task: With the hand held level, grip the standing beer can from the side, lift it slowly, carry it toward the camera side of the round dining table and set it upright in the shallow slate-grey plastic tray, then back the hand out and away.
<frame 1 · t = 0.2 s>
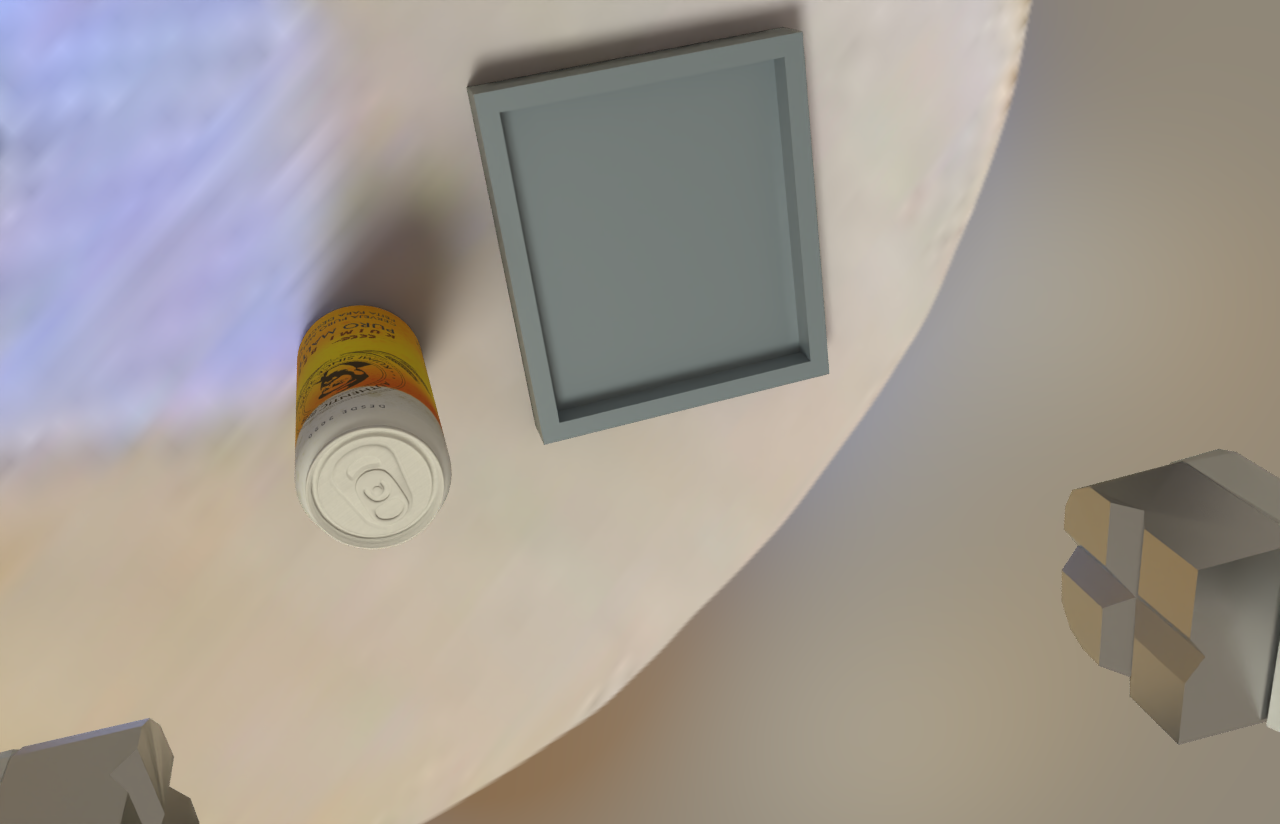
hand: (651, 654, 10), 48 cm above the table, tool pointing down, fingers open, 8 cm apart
tray: (654, 234, 59), on the table
beer can: (359, 356, 58), on the table
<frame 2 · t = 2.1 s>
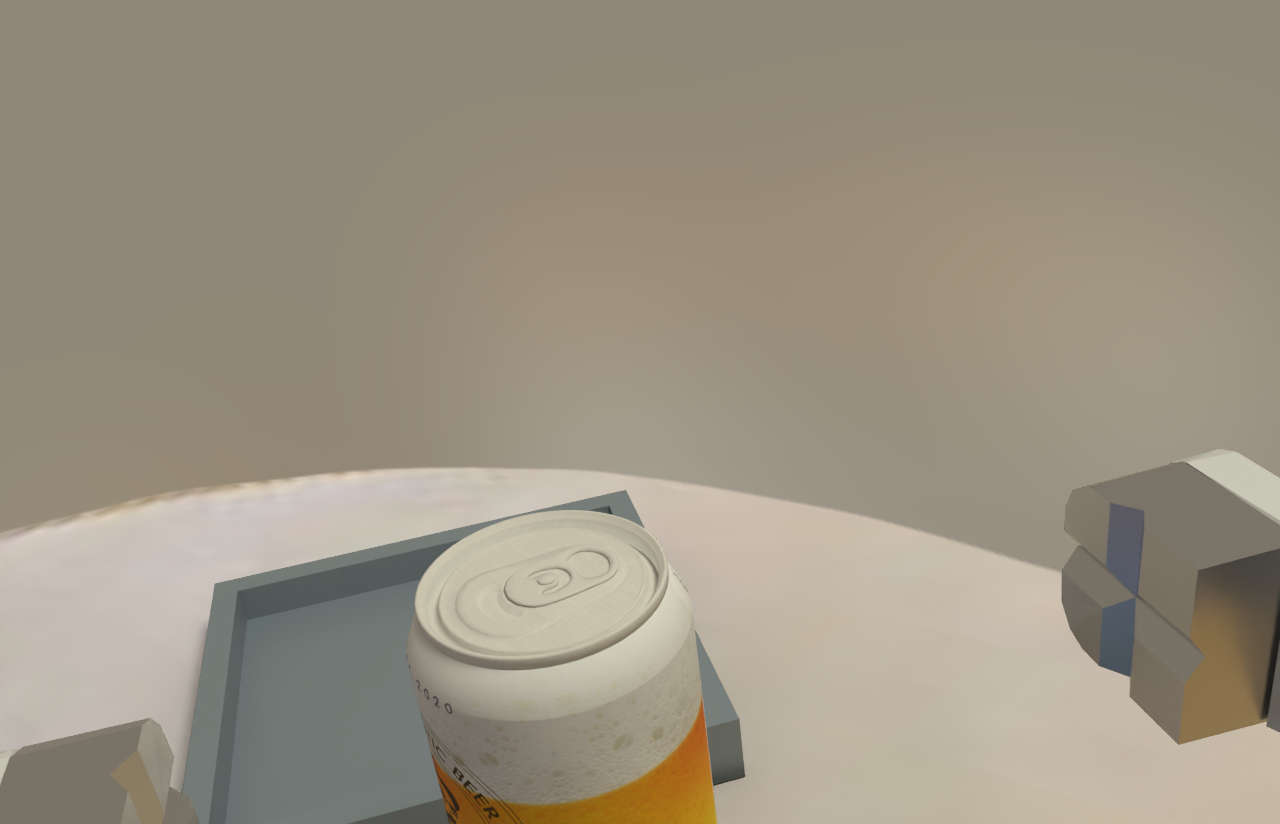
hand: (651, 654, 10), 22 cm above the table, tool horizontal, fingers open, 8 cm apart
tray: (455, 694, 44), on the table
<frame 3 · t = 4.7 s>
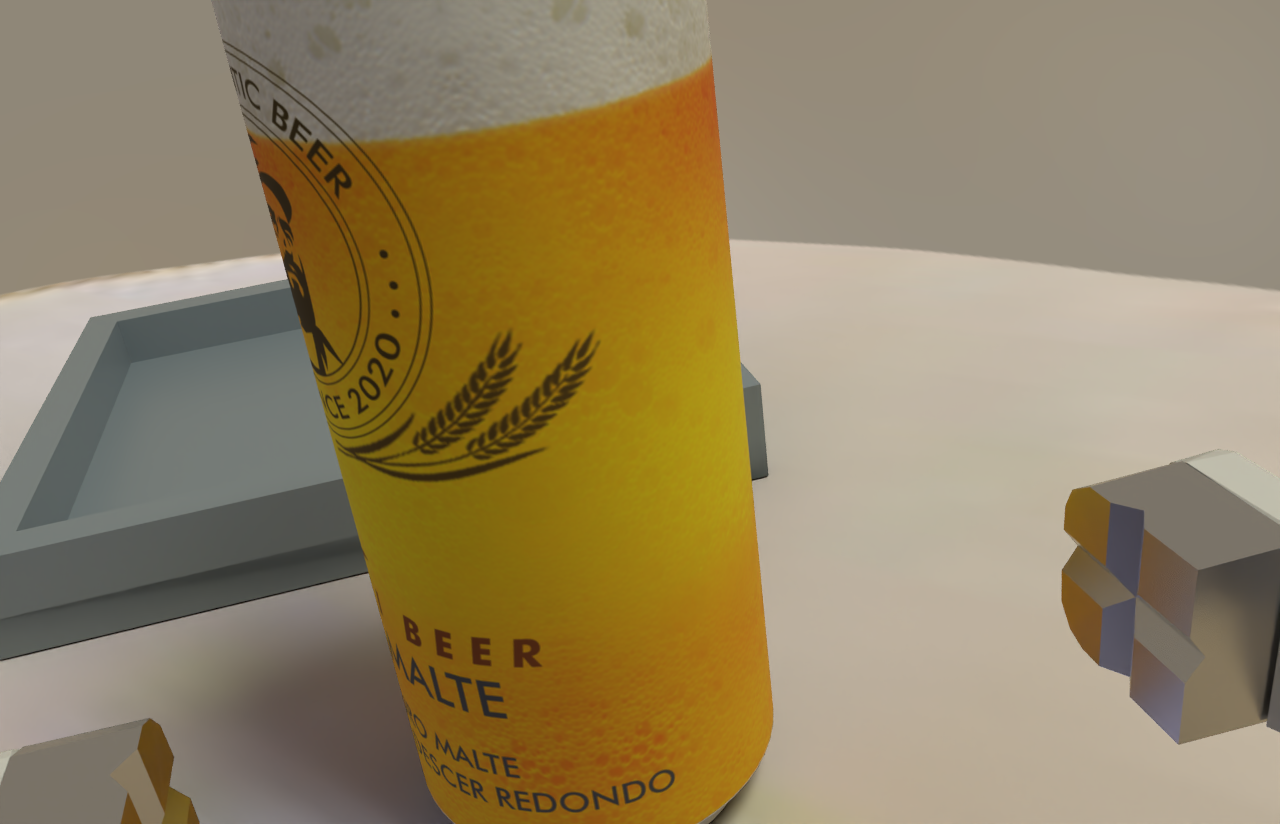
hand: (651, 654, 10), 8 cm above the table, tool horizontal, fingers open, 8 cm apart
tray: (387, 422, 34), on the table
beer can: (605, 765, 20), on the table
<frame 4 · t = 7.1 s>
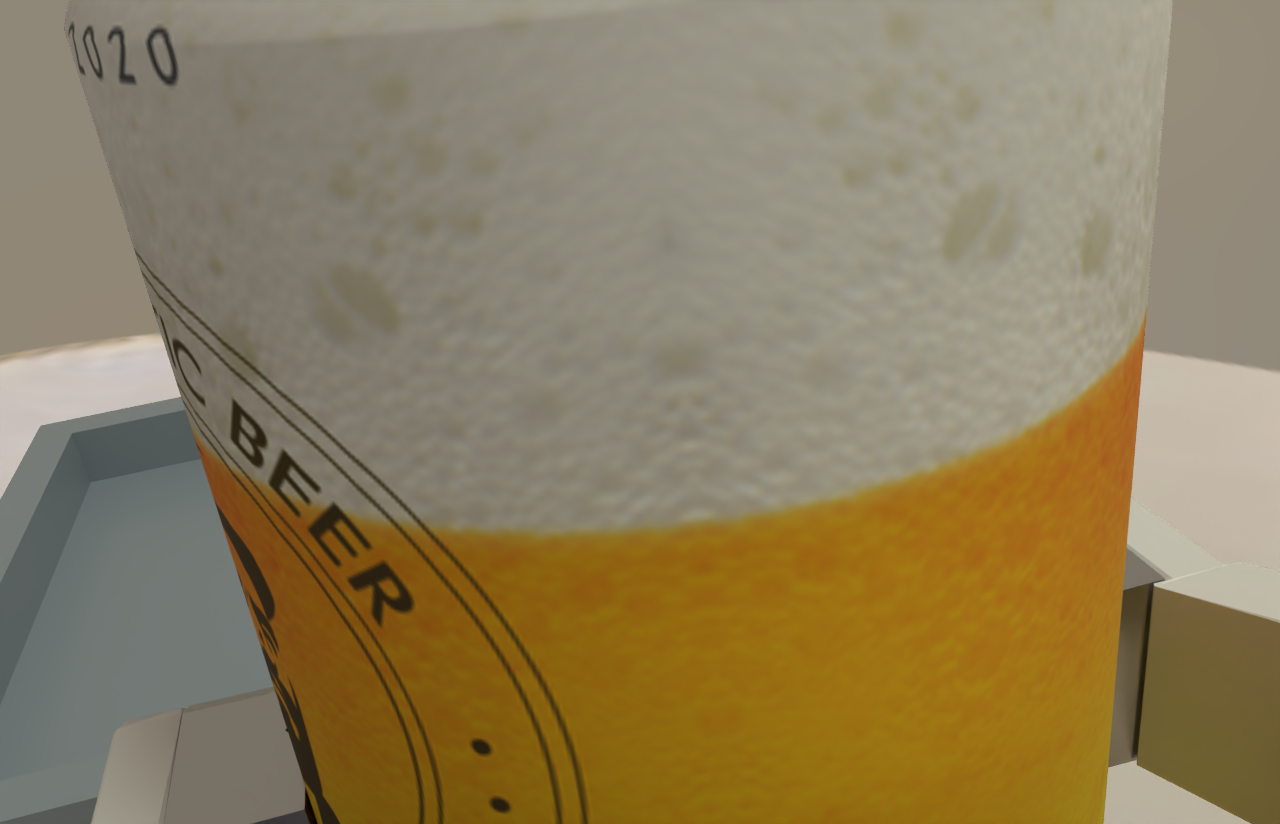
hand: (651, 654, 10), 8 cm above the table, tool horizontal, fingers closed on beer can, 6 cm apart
tray: (410, 580, 26), on the table
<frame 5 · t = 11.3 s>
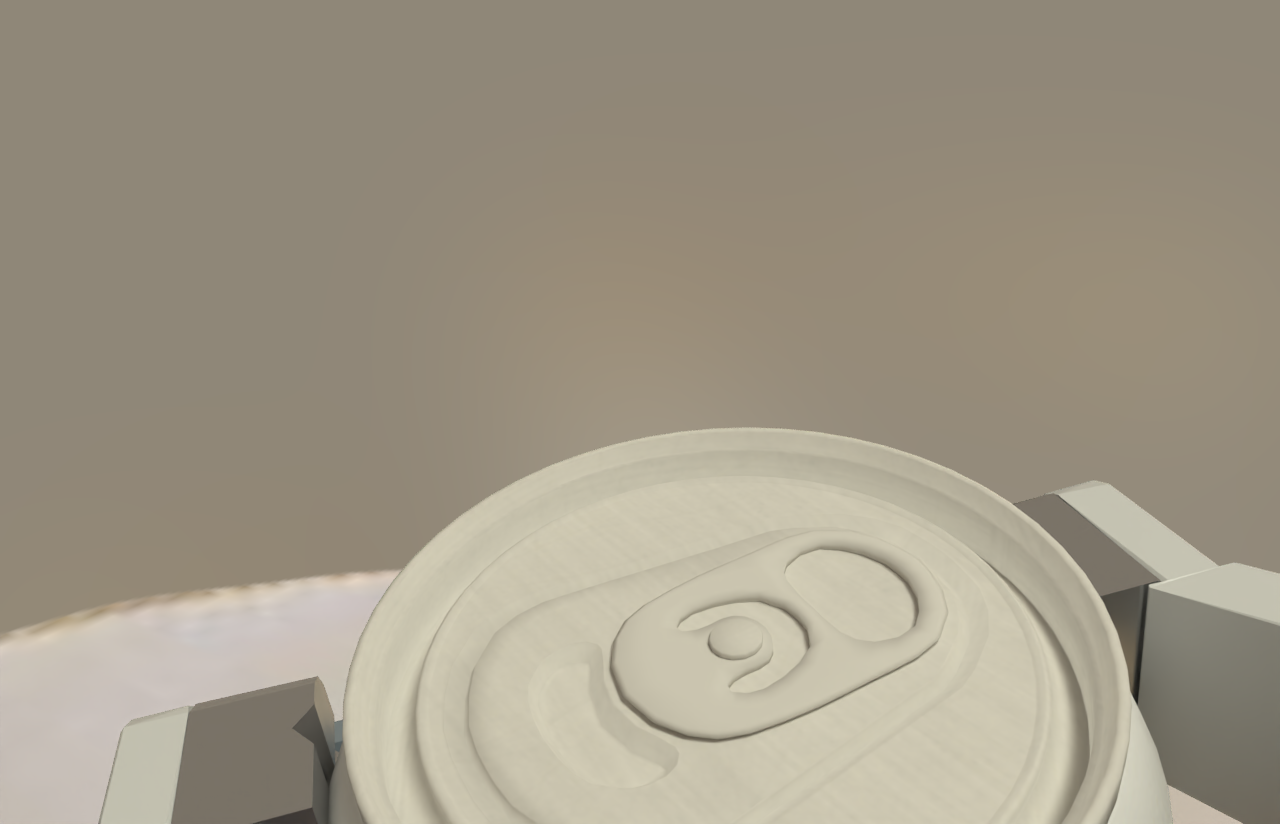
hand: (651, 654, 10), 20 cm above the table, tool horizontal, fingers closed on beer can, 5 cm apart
when the fingers open (11 cm above the table, at t = 15.7 s): beer can stays where it is, resting on tray.
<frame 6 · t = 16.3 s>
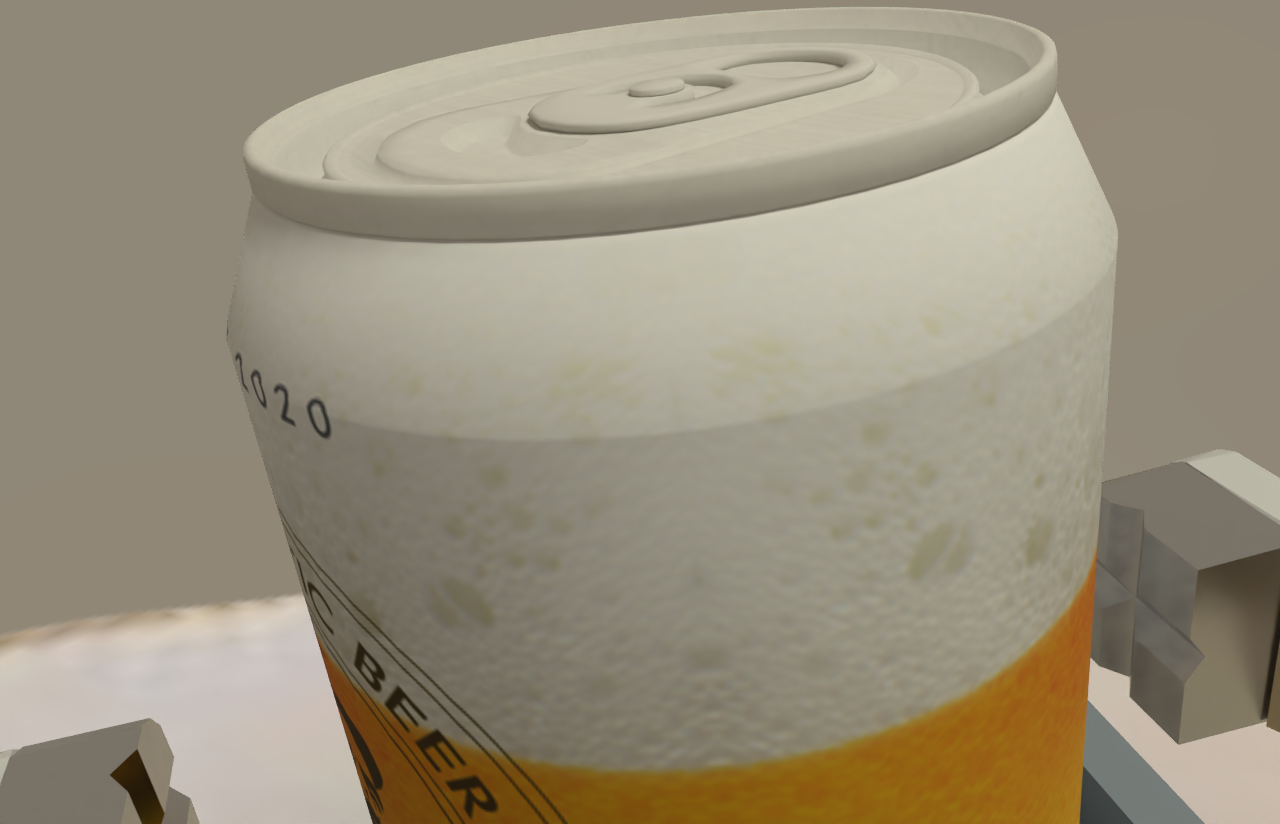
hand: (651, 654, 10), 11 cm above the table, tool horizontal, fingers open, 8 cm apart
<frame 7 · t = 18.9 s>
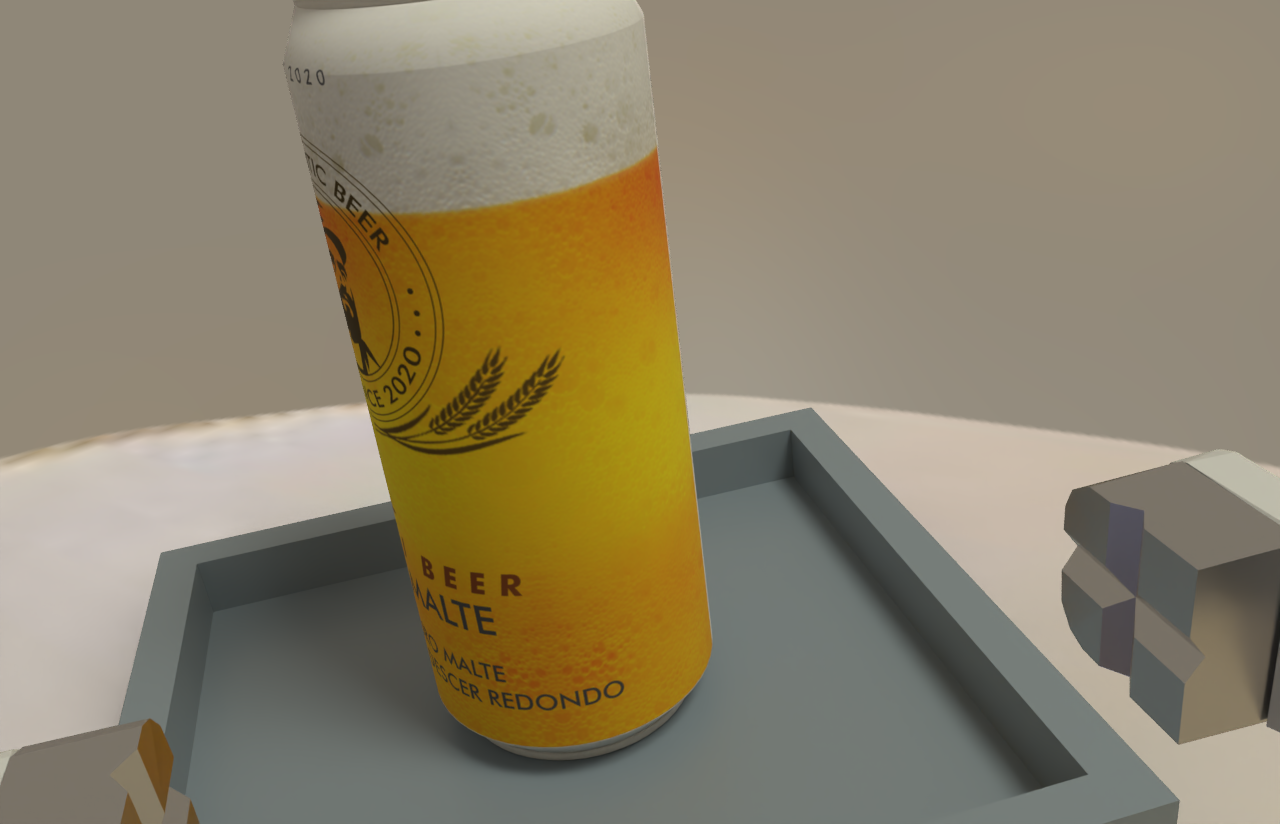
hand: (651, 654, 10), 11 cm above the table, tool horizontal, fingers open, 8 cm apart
tray: (570, 738, 25), on the table
beer can: (580, 686, 26), point 1 cm above the table, touching tray
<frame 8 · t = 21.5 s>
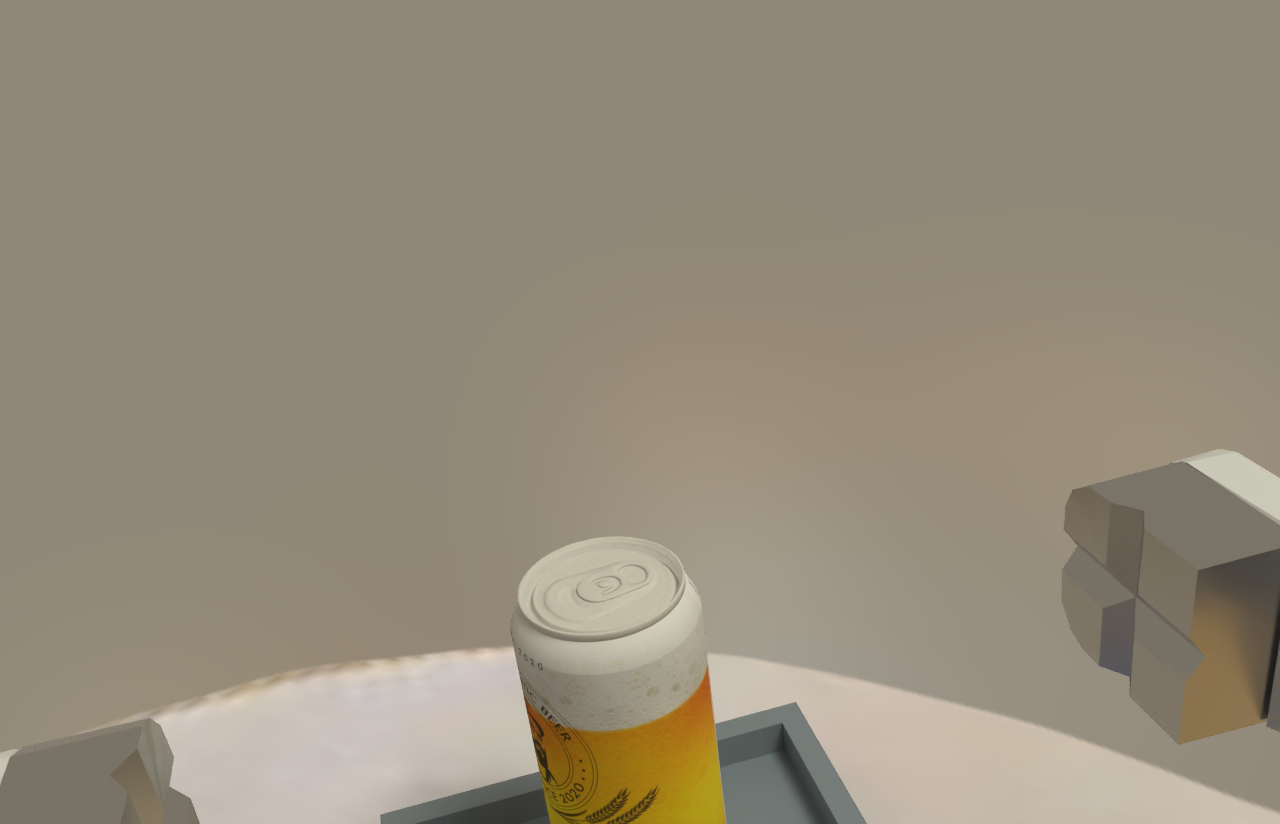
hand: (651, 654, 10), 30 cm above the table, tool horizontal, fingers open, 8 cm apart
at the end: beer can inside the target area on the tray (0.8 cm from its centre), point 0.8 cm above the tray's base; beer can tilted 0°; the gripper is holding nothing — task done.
